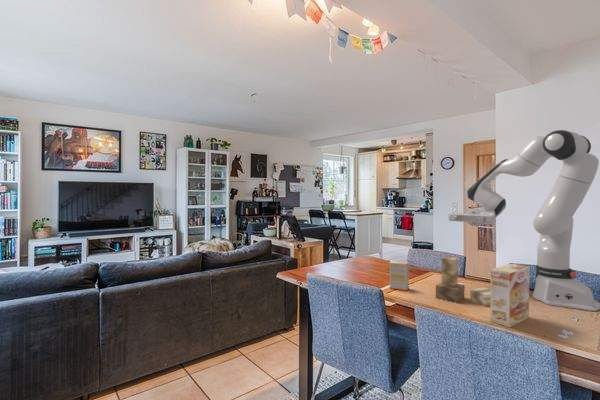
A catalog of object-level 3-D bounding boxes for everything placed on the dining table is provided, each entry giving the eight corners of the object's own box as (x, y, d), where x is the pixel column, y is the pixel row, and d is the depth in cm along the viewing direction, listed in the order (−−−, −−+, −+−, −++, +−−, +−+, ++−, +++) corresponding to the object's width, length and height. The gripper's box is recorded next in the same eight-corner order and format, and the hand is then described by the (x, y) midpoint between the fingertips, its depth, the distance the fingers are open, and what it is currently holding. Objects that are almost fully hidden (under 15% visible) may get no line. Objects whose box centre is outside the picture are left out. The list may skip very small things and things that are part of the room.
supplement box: (409, 288, 160) (409, 261, 159) (406, 291, 156) (406, 263, 155) (392, 286, 164) (392, 260, 164) (389, 288, 160) (389, 262, 159)
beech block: (500, 305, 137) (500, 293, 136) (484, 307, 135) (484, 295, 134) (485, 298, 144) (485, 287, 144) (470, 300, 142) (470, 289, 142)
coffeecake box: (510, 328, 114) (510, 272, 113) (489, 321, 120) (489, 268, 119) (530, 318, 122) (530, 266, 121) (509, 312, 128) (509, 262, 127)
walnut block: (464, 298, 145) (464, 285, 145) (456, 303, 139) (456, 289, 139) (443, 293, 152) (443, 281, 151) (435, 298, 145) (435, 285, 145)
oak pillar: (457, 284, 145) (457, 258, 145) (453, 287, 142) (453, 260, 141) (446, 282, 149) (446, 256, 148) (441, 285, 145) (441, 258, 145)
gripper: (453, 209, 170) (443, 211, 160) (498, 211, 156) (490, 213, 146) (453, 221, 170) (443, 224, 160) (498, 224, 156) (490, 227, 146)
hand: (466, 219), depth 153 cm, fingers open, 8 cm apart
